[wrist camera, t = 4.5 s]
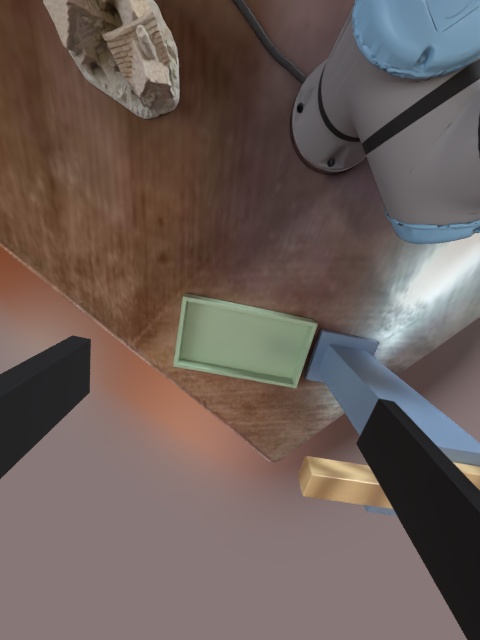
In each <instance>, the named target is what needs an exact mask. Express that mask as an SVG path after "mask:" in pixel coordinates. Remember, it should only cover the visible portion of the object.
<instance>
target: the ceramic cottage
mask: <svg viewBox="0 0 480 640" xmlns="http://www.w3.org/2000/svg"><path fill="white" fill-rule="evenodd" d="M43 2H44V5H45V6H46V8H47V9H48V12H49V14H50V16H51V18H52V20H53V22H54V24H55V26H56V29H57V32H58V34H59V36H60V39H61V41H62V43H63V46H64V47H65V48H66V49H68V50H69V53H70V55H71V56H72V57H73V59H74V60H75V64H76V65H77V66H78V68H79V69H80V71H81V72H82V74H83V75H84V77H85V78H86V80H87V81H89V82H90V83H91V84H93V85H94V86H95V87H97V88H98V89H100V90H101V91H103V92H105V93H106V94H107V95H109V96H110V97H112V98H113V99H114V100H116V101H118V102H119V103H120V104H122V105H123V106H125V107H126V108H127V109H129V110H130V111H131V112H133V113H134V114H136V115H137V116H139V117H142V118H144V119H151V118H155V117H156V118H157V116H159V115H160V114H164V113H165V114H167V112H171V111H172V110H175V107H176V106H177V105H178V103H179V97H180V95H179V92H180V89H179V83H180V81H179V59H178V53H177V52H178V51H177V47H176V44H175V42H174V39H173V36H172V33H171V31H170V30H169V29H168V27H167V25H166V23H165V21H164V20H163V18H162V15H161V12H160V10H159V8H158V6H157V4H156V3H155V2H154V0H43Z"/></svg>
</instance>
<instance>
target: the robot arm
mask: <svg viewBox="0 0 480 640" xmlns="http://www.w3.org/2000/svg"><path fill="white" fill-rule="evenodd" d="M233 1H234V2H235V4H236V5H237V6H238V8H239V9H240V10H241V12H242V13H243V15H244V16H245V17H246V19H247V20H248V22H249V23H250V25H251V26H252V28H253V30H254V31H255V33H256V34H257V36H258V37H259V39H260V40H261V42H262V43H263V45H264V46H265V48H266V49H267V50H268V51H269V53H270V54H271V55H272V56H273V57H274V59H275V60H276V61H277V62H279V63H280V64H281V65H282V66H283V67H284V68H286V69H287V70H288V71H289V72H290V73H291V74H292V75H293V76H294V77H295V78H296V79H297V80H298V81H299V82H300V83H302V86H301V88H300V90H299V92H298V95H297V97H296V100H295V102H294V105H293V109H292V113H291V120H290V132H291V139H292V143H293V146H294V149H295V151H296V153H297V155H298V156H299V158H300V159H301V160H302V162H303V163H304V164H305V165H306V166H308V167H309V168H311V169H312V170H314V171H316V172H319V173H323V174H338V173H342V172H344V171H347V170H349V169H351V168H352V167H354V166H355V165H357V164H358V163H360V162H361V161H362V160H363V159H365V158H366V157H367V160H368V163H369V165H370V168H371V170H372V173H373V176H374V178H375V181H376V184H377V186H378V189H379V192H380V194H381V197H382V200H383V202H384V205H385V208H386V209H385V214H386V217H387V218H388V219H389V220H390V221H391V223H392V226H393V228H394V230H395V232H396V234H397V236H399V237H400V238H401V239H403V240H404V241H406V242H410V243H415V244H434V243H443V242H450V241H455V240H459V239H463V238H467V237H471V236H472V234H474V233H478V232H480V0H355V3H354V6H353V8H352V10H351V12H350V14H349V16H348V18H347V20H346V22H345V24H344V26H343V28H342V31H341V33H340V35H339V37H338V39H337V41H336V43H335V45H334V47H333V49H332V51H331V54H330V56H329V58H327V59H326V60H325V61H324V62H323V63H321V64H320V65H319V66H318V67H317V68H315V69H314V70H313V71H312V72H311V73H310V74H309V76H308V77H306V76H305V75H304V74H303V73H302V72H301V71H300V70H299V69H298V68H297V67H296V66H295V65H293V64H292V63H291V62H290V61H289V60H288V59H287V58H285V57H284V56H283V55H282V54H281V53H280V52H279V51H278V50H277V49H276V47H275V46H274V45H273V44H272V42H271V41H270V40H269V38H268V37H267V35H266V34H265V32H264V31H263V29H262V28H261V26H260V25H259V23H258V21H257V20H256V18H255V17H254V15H253V14H252V12H251V11H250V9H249V8H248V6H247V5H246V3H245V2H244V1H243V0H233ZM90 343H91V340H90V339H87V338H82V337H77V336H71V337H69V338H67V339H65V340H63V341H61V342H60V343H58V344H56V345H54V346H52V347H50V348H48V349H47V350H45V351H43V352H41V353H39V354H37V355H35V356H34V357H32V358H30V359H28V360H26V361H24V362H22V363H20V364H19V365H17V366H15V367H13V368H11V369H9V370H8V371H6V372H4V373H2V374H0V479H1V478H2V476H4V475H5V474H6V473H7V472H8V471H9V470H10V469H11V468H12V467H13V466H14V465H15V464H16V463H17V462H18V461H19V460H20V459H21V458H22V457H23V456H24V455H25V454H26V453H28V452H29V451H30V450H31V449H32V448H33V447H34V446H35V445H36V444H37V443H38V442H39V441H40V440H41V439H42V438H43V437H44V436H45V435H46V434H47V433H48V432H49V431H50V430H51V429H52V428H53V427H54V426H55V425H56V424H58V422H60V421H61V420H62V419H63V418H64V417H65V416H66V415H67V414H68V413H69V412H70V411H71V410H72V409H73V408H74V407H75V406H76V405H77V404H78V403H79V402H80V401H81V400H82V399H83V398H84V397H85V396H86V395H87V394H88V393H89V392H90V347H91V344H90ZM357 445H358V447H359V449H360V451H361V453H362V454H363V456H364V458H365V460H366V462H367V463H368V465H369V467H370V469H371V470H372V472H373V474H374V476H375V477H376V479H377V481H378V483H379V485H380V486H381V488H382V490H383V492H384V493H385V495H386V497H387V499H388V500H389V502H390V504H391V506H392V507H393V509H394V511H395V513H396V515H397V516H398V518H399V520H400V522H401V523H402V525H403V527H404V529H405V530H406V532H407V534H408V536H409V537H410V539H411V541H412V543H413V545H414V546H415V548H416V550H417V552H418V553H419V555H420V557H421V559H422V560H423V562H424V564H425V566H426V567H427V569H428V571H429V573H430V575H431V576H432V578H433V580H434V582H435V583H436V585H437V587H438V589H439V590H440V592H441V594H442V596H443V597H444V599H445V601H446V603H447V604H448V606H449V608H450V610H451V611H452V613H453V615H454V617H455V619H456V620H457V622H458V624H459V626H460V627H461V629H462V631H463V633H464V635H465V636H466V638H467V640H480V490H479V489H478V488H477V487H476V486H475V485H474V484H473V483H472V482H471V481H470V480H469V479H468V478H467V477H466V476H465V475H464V473H463V472H462V471H461V470H460V469H459V468H458V467H457V466H456V465H455V464H454V463H453V462H452V461H451V460H450V459H449V458H448V457H447V456H446V455H445V454H444V453H443V452H442V451H441V450H440V448H439V447H438V446H437V445H436V444H435V443H434V442H433V441H432V440H431V439H430V438H429V437H428V436H427V435H426V434H425V433H424V432H423V431H422V430H421V429H420V428H419V427H418V426H417V425H416V423H415V422H414V421H413V420H412V419H411V418H410V417H409V416H408V415H407V414H406V413H405V412H404V411H403V410H402V409H401V408H400V407H399V406H398V405H397V404H396V403H395V402H394V401H390V400H385V399H380V398H379V399H378V401H377V403H376V405H375V407H374V409H373V411H372V413H371V415H370V417H369V419H368V421H367V423H366V425H365V427H364V429H363V431H362V433H361V435H360V437H359V439H358V441H357Z"/></svg>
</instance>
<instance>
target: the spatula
mask: <svg viewBox="0 0 480 640" xmlns="http://www.w3.org/2000/svg"><path fill="white" fill-rule="evenodd" d="M453 463H454V464H455V465H456V466H457V467H458V468H459V469H460V470H461V471H462V472H463V473H464V475H465V476H466V477H467V478H468V479H469V480H470V481H471V482H472V483H473V484H474V485H475V486H476V487H477V488H478V489H479V490H480V466H475V465H468V464H462V463H456V462H453ZM298 479H299V483H300V487H301V491H302V494H303V496H304V497H312V498H319V499H327V500H333V501H340V502H347V503H354V504H361V505H368V506H376V507H383V508H390V509H393V507H392V506H391V504H390V502H389V500H388V499H387V497H386V495H385V493H384V492H383V490H382V488H381V486H380V485H379V483H378V481H377V479H376V477H375V476H374V474H373V472H372V470H371V469H370V467H369V466H367V465H361V464H354V463H348V462H342V461H335V460H328V459H322V458H316V457H309V456H305V459H304V462H303V464H302V467H301V469H300V472H299V475H298Z"/></svg>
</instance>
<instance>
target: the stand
mask: <svg viewBox="0 0 480 640" xmlns="http://www.w3.org/2000/svg"><path fill="white" fill-rule="evenodd" d="M378 344H379V342H377V341H376V340H372V339H367V338H362V337H357V336H352V335H348V334H343V333H338V332H333V331H328V330H323V329H320V332H319V334H318V337H317V340H316V343H315V346H314V349H313V352H312V355H311V358H310V361H309V364H308V367H307V370H306V373H305V378H306V379H307V380H313V381H318V382H324V383H326V385H327V386H328V388H329V389H330V391H331V392H332V394H333V395H334V397H335V398H336V400H337V401H338V403H339V404H340V406H341V407H342V409H343V411H344V412H345V414H346V415H347V417H348V418H349V420H350V421H351V423H352V424H353V426H354V427H355V429H356V430H357V432H358V433H359V435H361V433H362V431H363V429H364V427H365V425H366V423H367V421H368V419H369V417H370V415H371V413H372V411H373V409H374V407H375V405H376V403H377V401H378V399H379V398H380V399H385V400H390V401H394V402H395V403H396V404H397V405H398V406H399V407H400V408H401V409H402V410H403V411H404V412H405V413H406V414H407V415H408V416H409V417H410V418H411V419H412V420H413V421H414V422H415V423H416V425H417V426H418V427H419V428H420V429H421V430H422V431H423V432H424V433H425V434H426V435H427V436H428V437H429V438H430V439H431V440H432V441H433V442H434V443H435V444H436V445H437V446H438V447H439V448H440V450H441V451H442V452H443V453H444V454H445V455H446V456H447V457H448V458H449V459H450V460H451V461H452V462H456V463H462V464H468V465H475V466H480V443H479V442H478V441H477V440H475V439H474V438H473V437H471V436H470V435H469V434H468V433H467V432H465V431H464V430H463V429H462V428H461V427H459V426H458V425H457V424H456V423H454V422H453V421H452V420H451V419H449V418H448V417H447V416H446V415H444V414H443V413H442V412H441V411H439V410H438V409H437V408H436V407H435V406H433V405H432V404H431V403H429V402H428V401H427V400H426V399H425V398H423V397H422V396H421V395H420V394H418V393H417V392H416V391H415V390H413V389H412V388H411V387H410V386H409V385H407V384H406V383H405V382H403V381H402V380H401V379H400V378H399V377H397V376H396V375H395V374H394V373H392V372H391V371H390V370H389V369H388V368H386V367H385V366H384V365H383V364H381V363H380V362H379V361H378V360H376V359H375V358H374V357H373V356H374V353H375V351H376V349H377V346H378ZM364 506H365V509H366V511H367V512H372V513H380V514H387V515H394V516H397V515H396V513H395V511H394V509H390V508H383V507H376V506H368V505H364Z"/></svg>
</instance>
